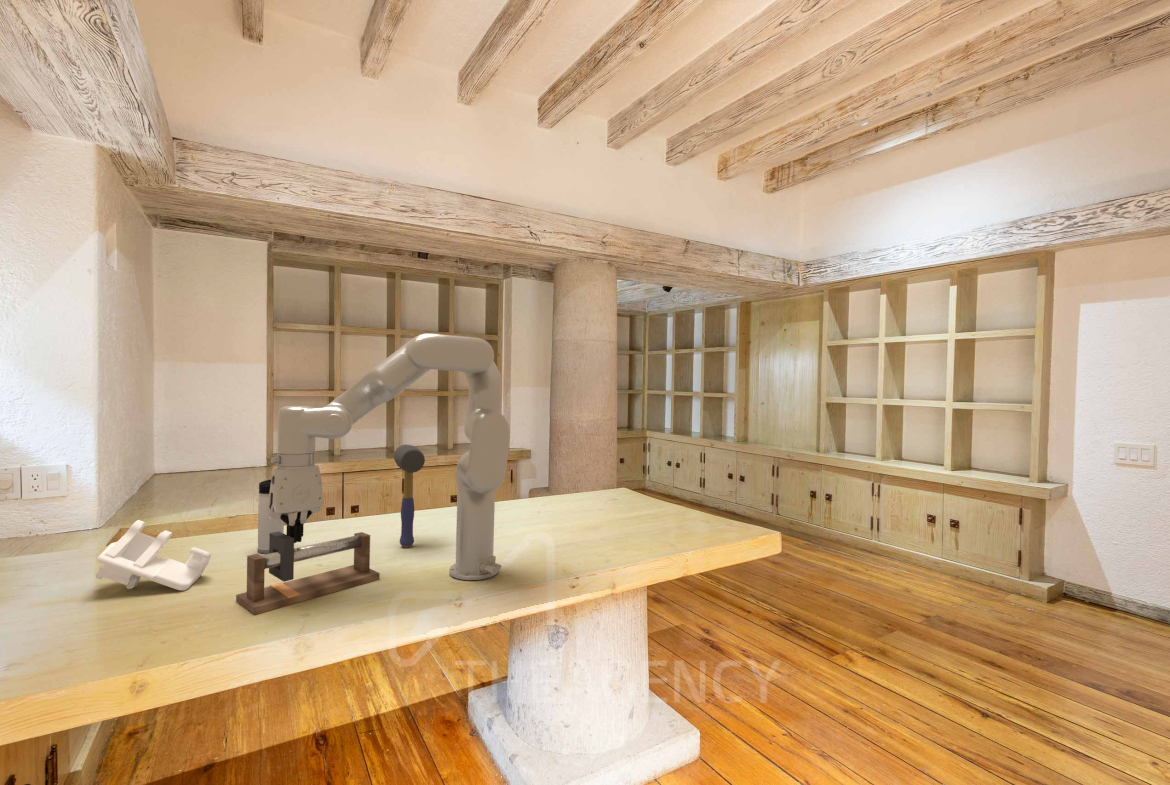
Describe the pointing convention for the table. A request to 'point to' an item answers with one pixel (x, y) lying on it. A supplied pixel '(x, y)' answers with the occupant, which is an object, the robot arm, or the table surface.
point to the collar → (282, 555)
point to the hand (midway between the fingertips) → (294, 541)
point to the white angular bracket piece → (149, 561)
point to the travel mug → (266, 519)
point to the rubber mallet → (408, 488)
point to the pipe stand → (310, 586)
